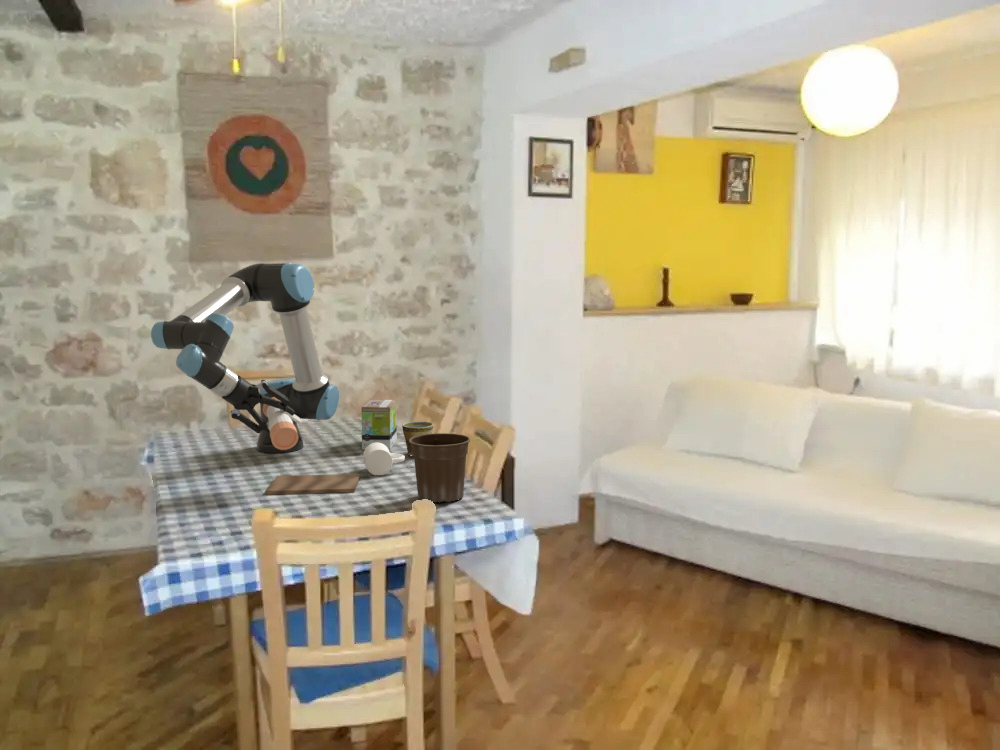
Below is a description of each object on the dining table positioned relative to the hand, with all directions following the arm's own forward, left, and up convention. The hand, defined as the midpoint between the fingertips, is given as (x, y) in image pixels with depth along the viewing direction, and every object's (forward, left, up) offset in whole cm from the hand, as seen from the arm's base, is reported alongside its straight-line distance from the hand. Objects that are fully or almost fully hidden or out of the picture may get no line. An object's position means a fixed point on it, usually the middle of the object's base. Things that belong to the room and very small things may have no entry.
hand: (292, 428), depth 252 cm
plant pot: (+35, +31, -16) cm, 49 cm away
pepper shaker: (+11, -4, 0) cm, 11 cm away
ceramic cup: (-15, +44, -16) cm, 49 cm away
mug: (+1, +27, -16) cm, 31 cm away
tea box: (-33, +37, -16) cm, 52 cm away
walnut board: (+7, +4, -16) cm, 17 cm away
